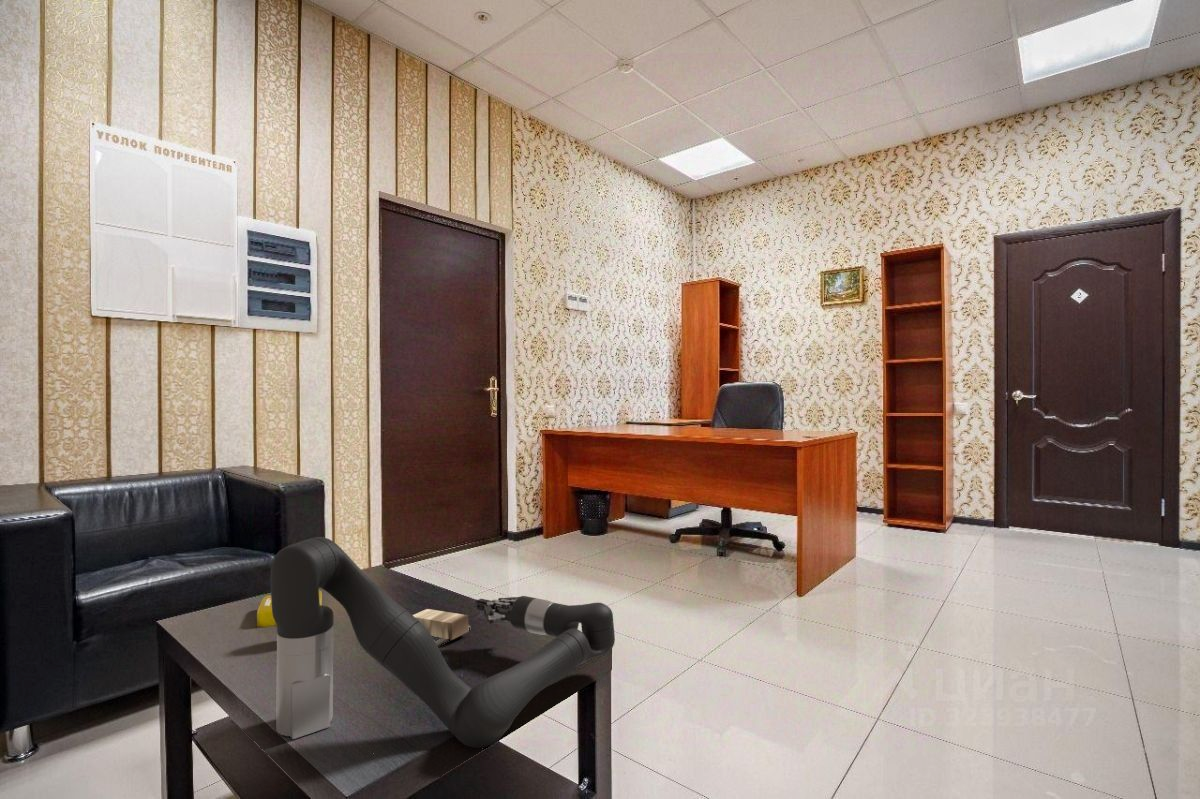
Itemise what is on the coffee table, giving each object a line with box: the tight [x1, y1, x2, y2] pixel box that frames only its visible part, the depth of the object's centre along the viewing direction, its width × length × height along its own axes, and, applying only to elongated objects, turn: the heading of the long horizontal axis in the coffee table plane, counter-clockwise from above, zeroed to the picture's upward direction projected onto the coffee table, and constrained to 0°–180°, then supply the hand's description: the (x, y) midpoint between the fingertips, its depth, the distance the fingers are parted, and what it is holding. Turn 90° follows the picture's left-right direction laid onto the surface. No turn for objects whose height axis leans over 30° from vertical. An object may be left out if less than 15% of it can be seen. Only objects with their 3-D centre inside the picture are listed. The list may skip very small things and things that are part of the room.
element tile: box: [256, 589, 323, 628], centre depth 158 cm, size 15×15×5 cm
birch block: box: [412, 608, 470, 641], centre depth 145 cm, size 4×6×14 cm
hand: (477, 603), depth 140 cm, fingers closed
